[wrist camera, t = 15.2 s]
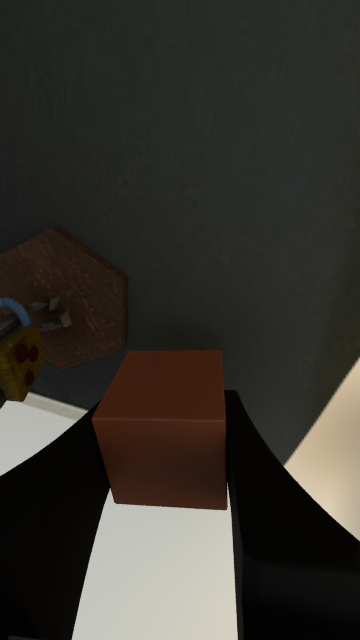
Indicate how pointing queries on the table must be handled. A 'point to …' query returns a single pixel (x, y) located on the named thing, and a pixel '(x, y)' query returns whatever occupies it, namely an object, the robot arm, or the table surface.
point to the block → (165, 430)
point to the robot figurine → (56, 309)
